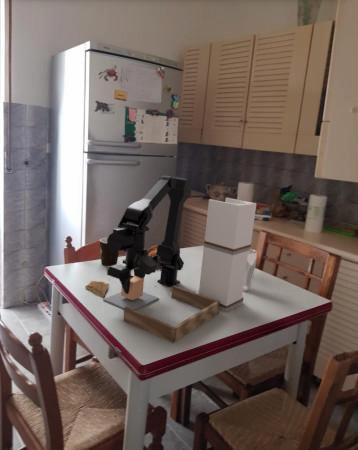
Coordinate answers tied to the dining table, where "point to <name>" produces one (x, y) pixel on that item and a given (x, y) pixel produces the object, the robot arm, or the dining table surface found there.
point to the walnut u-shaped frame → (182, 328)
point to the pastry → (153, 253)
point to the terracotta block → (134, 288)
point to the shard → (97, 287)
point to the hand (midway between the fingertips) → (132, 291)
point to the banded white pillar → (226, 251)
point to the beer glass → (249, 269)
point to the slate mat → (130, 301)
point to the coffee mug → (107, 254)
